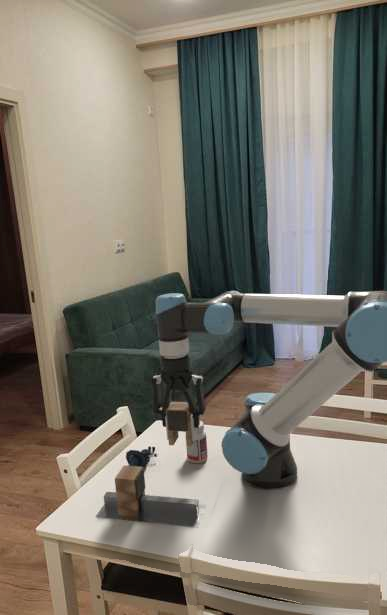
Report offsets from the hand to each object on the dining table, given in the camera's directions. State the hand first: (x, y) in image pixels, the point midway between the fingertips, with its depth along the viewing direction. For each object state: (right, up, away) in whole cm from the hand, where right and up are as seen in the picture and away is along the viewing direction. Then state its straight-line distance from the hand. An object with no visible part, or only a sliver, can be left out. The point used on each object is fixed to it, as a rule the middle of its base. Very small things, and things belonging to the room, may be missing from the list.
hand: (182, 437), depth 128 cm
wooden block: (-12, -16, -7) cm, 21 cm away
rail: (-7, -17, -8) cm, 20 cm away
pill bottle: (+4, -11, +17) cm, 21 cm away
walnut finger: (0, -1, 0) cm, 1 cm away
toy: (-12, -13, +17) cm, 24 cm away
